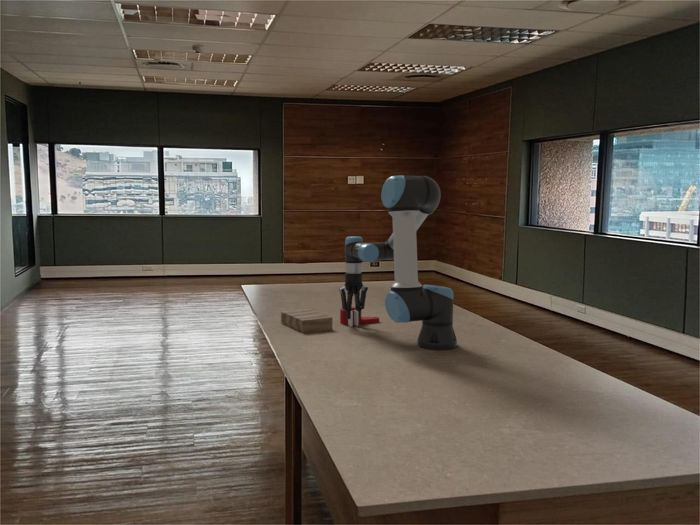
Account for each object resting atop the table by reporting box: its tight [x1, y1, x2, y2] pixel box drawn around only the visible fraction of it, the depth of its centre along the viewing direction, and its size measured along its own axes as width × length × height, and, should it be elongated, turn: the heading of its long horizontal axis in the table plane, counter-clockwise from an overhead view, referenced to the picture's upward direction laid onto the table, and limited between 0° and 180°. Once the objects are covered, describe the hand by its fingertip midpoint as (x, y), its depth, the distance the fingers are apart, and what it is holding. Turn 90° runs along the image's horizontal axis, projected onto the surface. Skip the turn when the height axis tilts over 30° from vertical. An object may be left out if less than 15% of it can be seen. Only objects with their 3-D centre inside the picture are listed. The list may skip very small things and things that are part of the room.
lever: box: [339, 306, 380, 326], centre depth 281 cm, size 18×9×7 cm, turn 105°
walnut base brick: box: [280, 308, 333, 333], centre depth 272 cm, size 22×14×6 cm, turn 30°
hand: (353, 325), depth 274 cm, fingers open, 2 cm apart
